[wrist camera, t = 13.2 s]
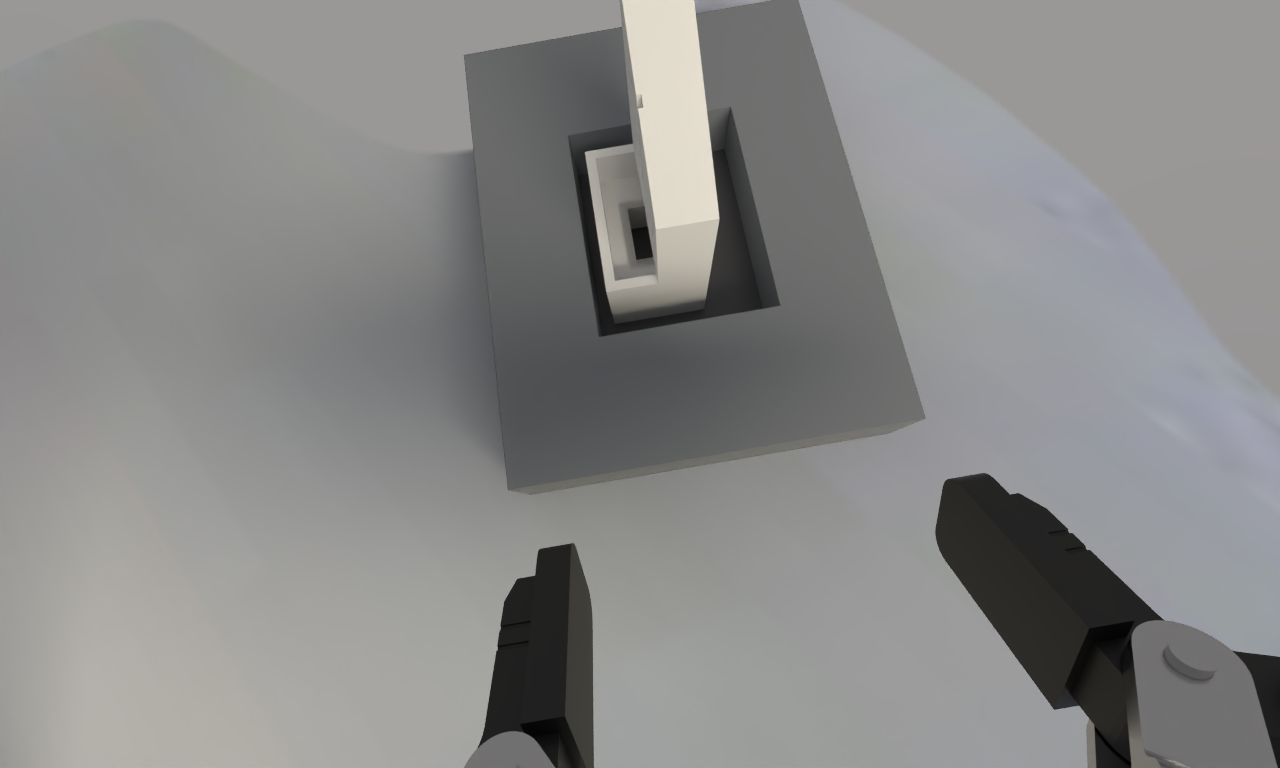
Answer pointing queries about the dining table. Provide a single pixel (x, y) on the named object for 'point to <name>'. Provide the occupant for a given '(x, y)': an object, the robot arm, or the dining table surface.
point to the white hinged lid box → (658, 170)
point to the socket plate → (572, 268)
